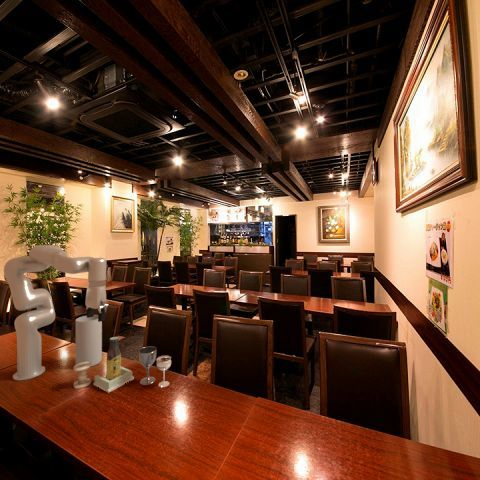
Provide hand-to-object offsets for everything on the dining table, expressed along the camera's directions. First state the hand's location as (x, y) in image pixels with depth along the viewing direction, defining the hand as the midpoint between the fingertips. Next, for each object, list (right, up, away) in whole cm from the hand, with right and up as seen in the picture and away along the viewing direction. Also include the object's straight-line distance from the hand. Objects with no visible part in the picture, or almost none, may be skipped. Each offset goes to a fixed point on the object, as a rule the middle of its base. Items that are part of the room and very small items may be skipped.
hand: (95, 319), depth 121 cm
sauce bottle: (+9, -29, 0) cm, 31 cm away
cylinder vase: (-14, -31, +18) cm, 39 cm away
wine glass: (+25, -30, 0) cm, 39 cm away
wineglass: (+34, -30, -2) cm, 45 cm away
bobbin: (-5, -30, -3) cm, 31 cm away
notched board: (+9, -30, 0) cm, 31 cm away
